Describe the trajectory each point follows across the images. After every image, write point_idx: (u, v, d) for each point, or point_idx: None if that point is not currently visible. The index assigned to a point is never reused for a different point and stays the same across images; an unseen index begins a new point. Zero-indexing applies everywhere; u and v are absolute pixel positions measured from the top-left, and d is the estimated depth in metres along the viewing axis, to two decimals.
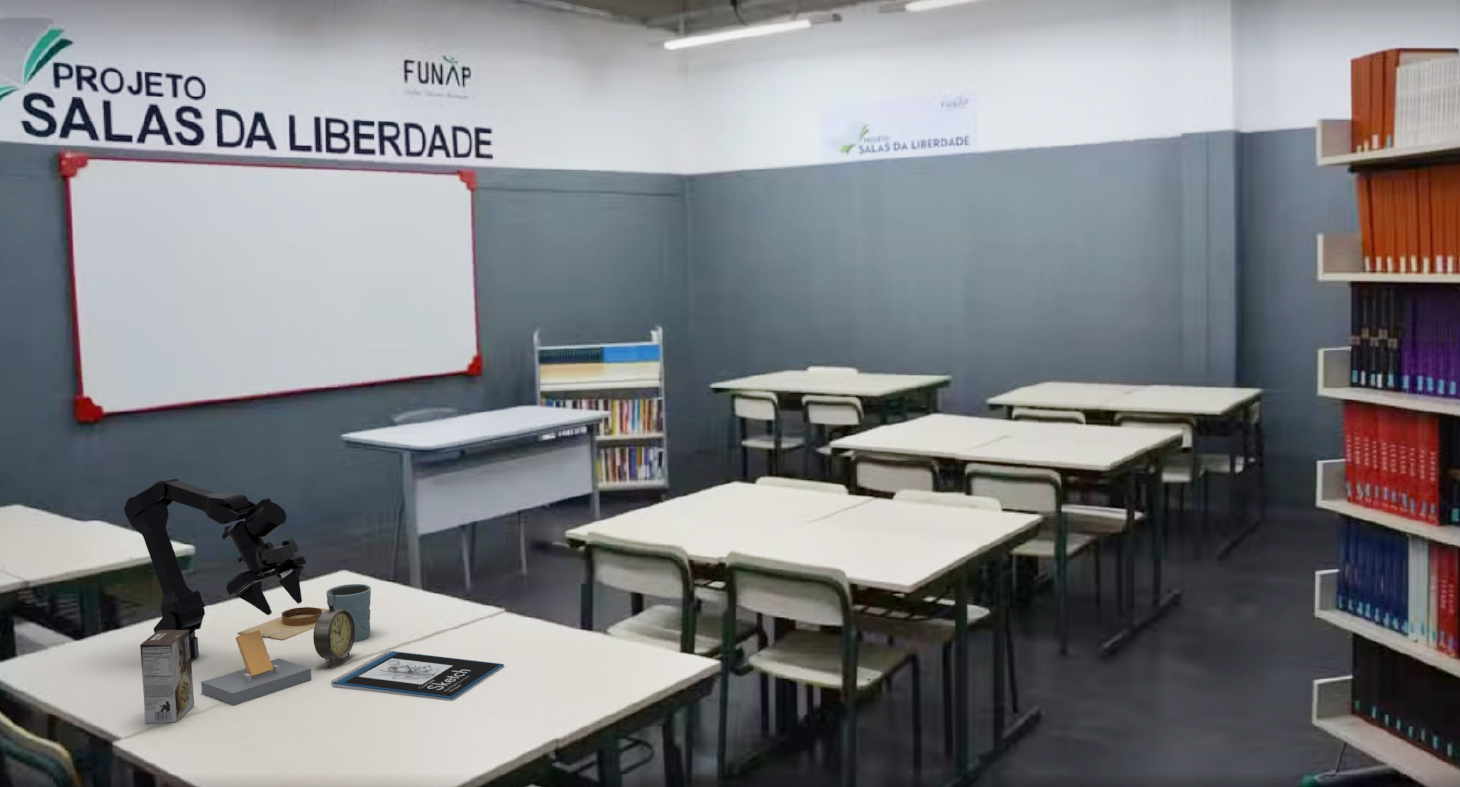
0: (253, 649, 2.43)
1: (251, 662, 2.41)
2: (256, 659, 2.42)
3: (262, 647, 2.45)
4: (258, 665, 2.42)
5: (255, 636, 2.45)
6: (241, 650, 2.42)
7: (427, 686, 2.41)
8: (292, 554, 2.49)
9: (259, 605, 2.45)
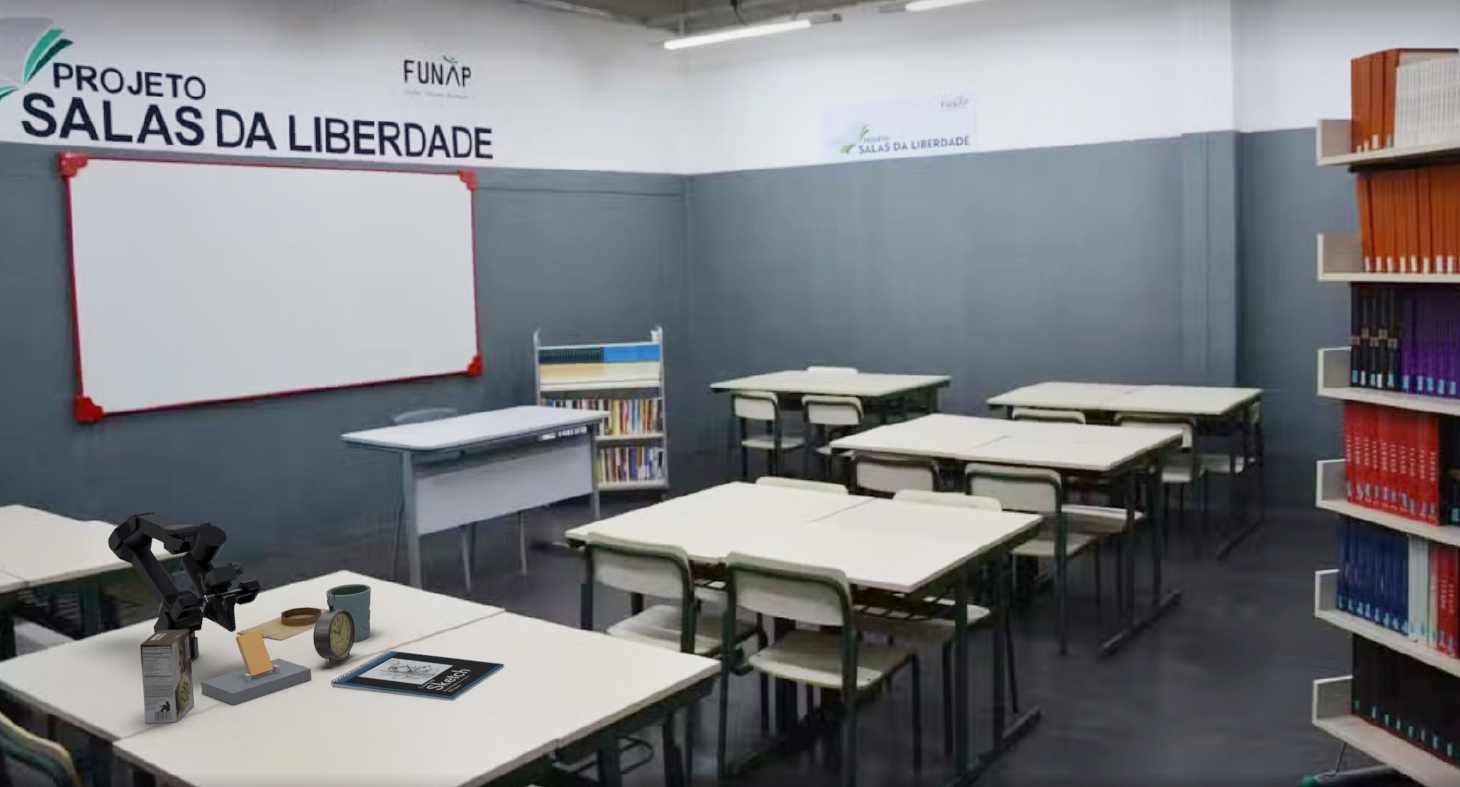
0: (253, 649, 2.43)
1: (251, 662, 2.41)
2: (256, 659, 2.42)
3: (262, 647, 2.45)
4: (258, 665, 2.42)
5: (255, 636, 2.45)
6: (241, 650, 2.42)
7: (427, 686, 2.41)
8: (233, 574, 2.48)
9: (222, 623, 2.48)
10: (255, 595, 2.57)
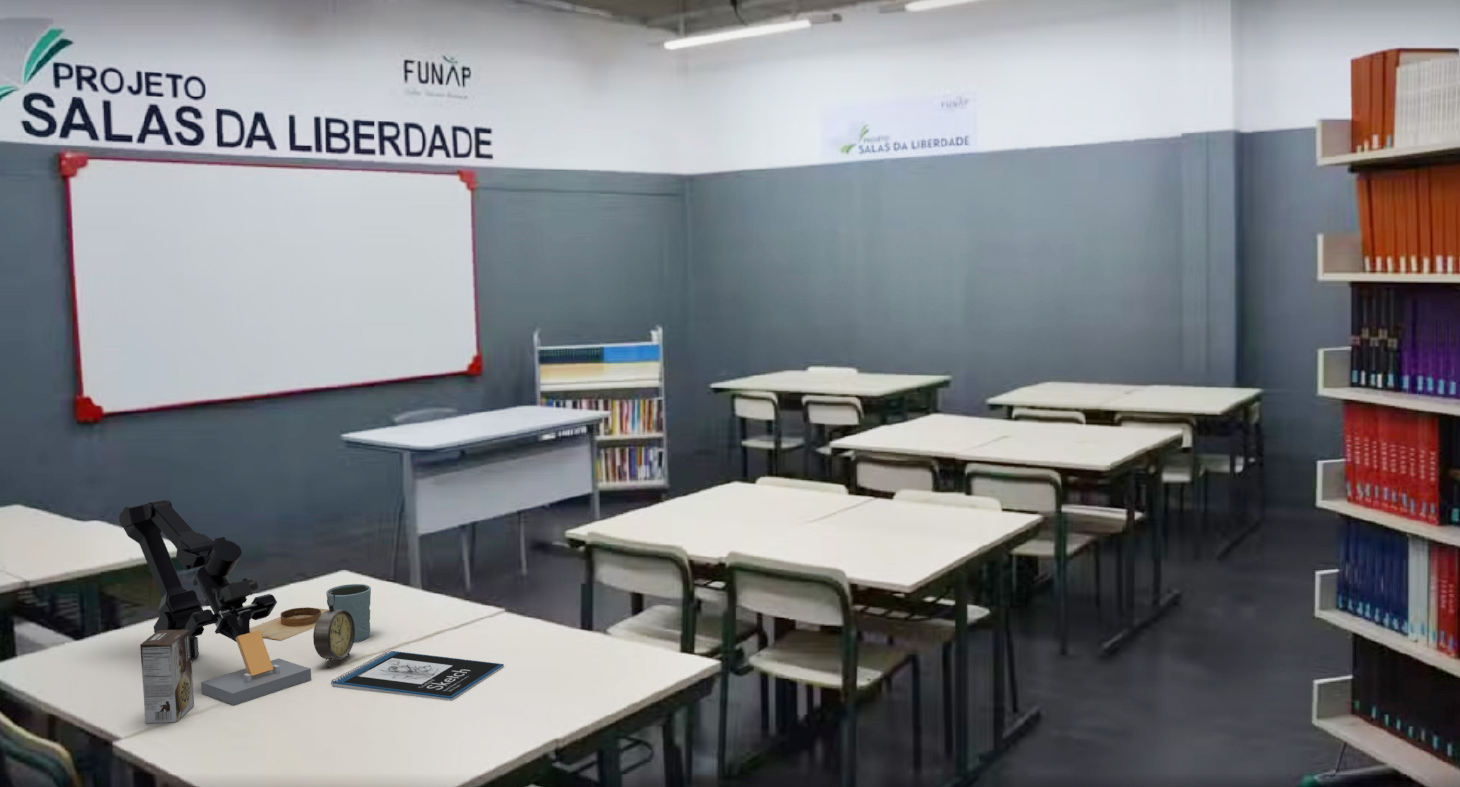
0: (253, 649, 2.43)
1: (251, 662, 2.41)
2: (256, 659, 2.42)
3: (262, 647, 2.45)
4: (258, 665, 2.42)
5: (255, 636, 2.45)
6: (241, 650, 2.42)
7: (427, 686, 2.41)
8: (248, 590, 2.45)
9: None
10: (270, 610, 2.54)
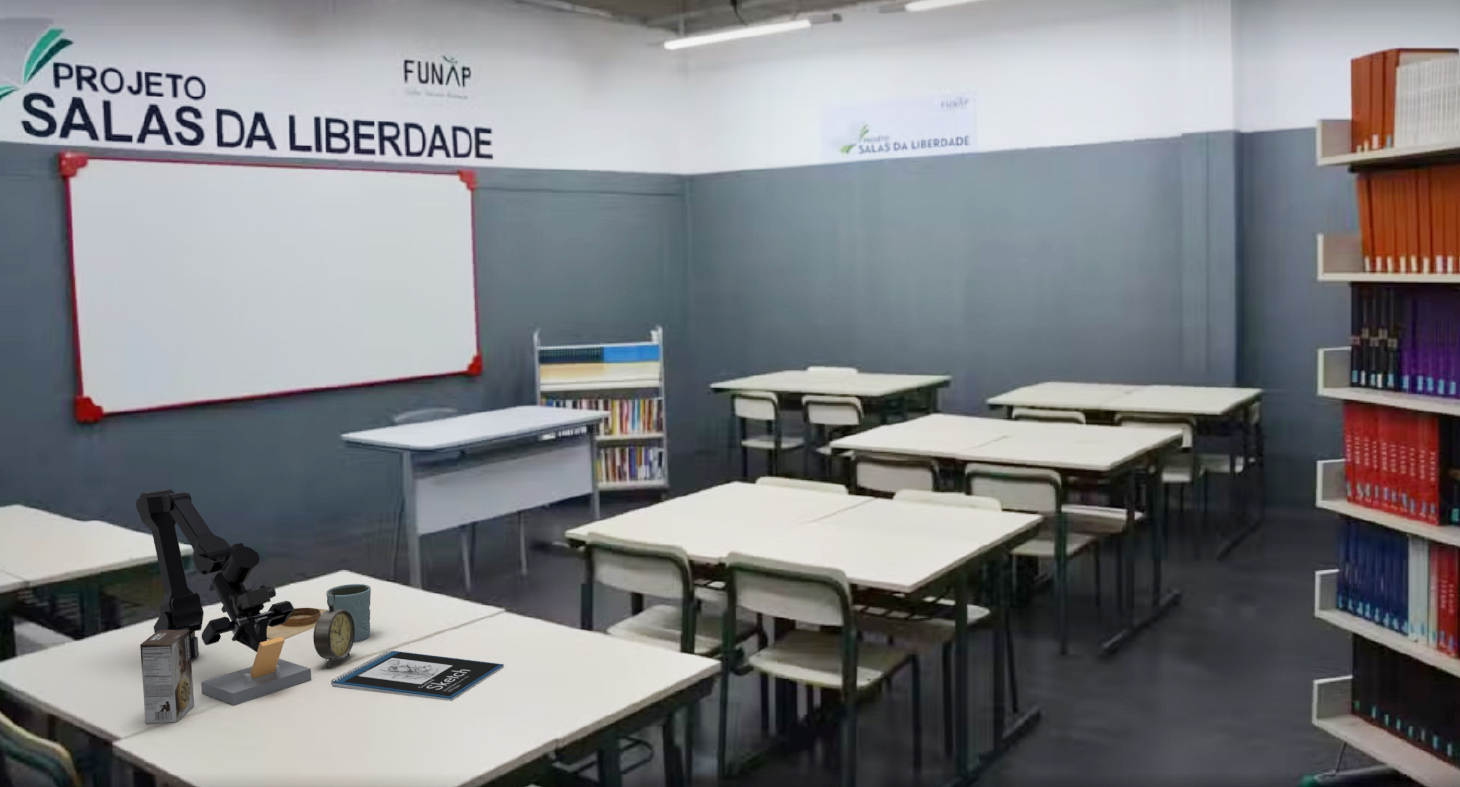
0: (268, 656, 2.40)
1: (260, 667, 2.40)
2: (265, 665, 2.41)
3: (277, 654, 2.42)
4: (263, 670, 2.41)
5: (277, 645, 2.40)
6: (258, 655, 2.38)
7: (427, 686, 2.41)
8: (266, 597, 2.41)
9: (254, 647, 2.41)
10: (287, 617, 2.51)
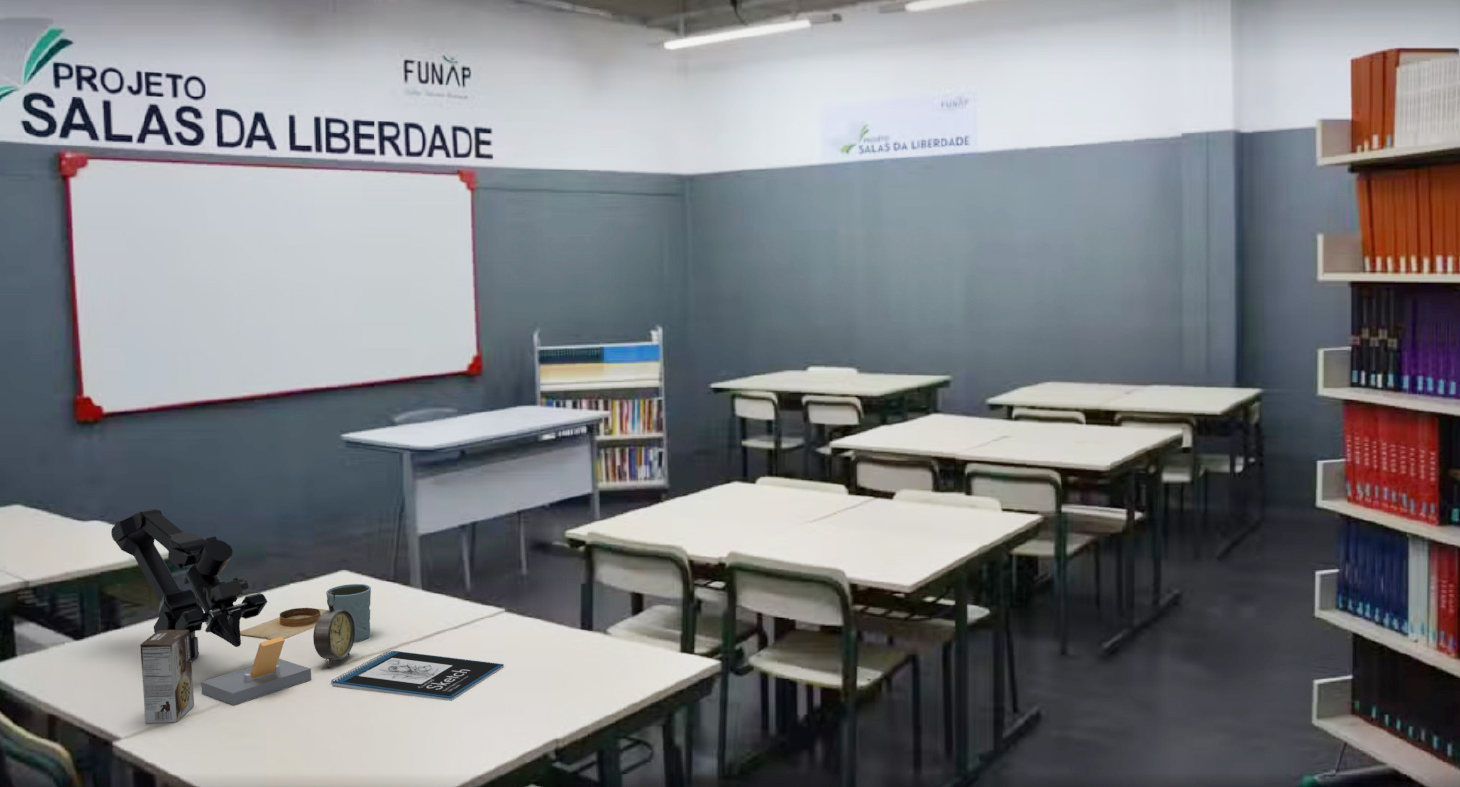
0: (268, 656, 2.40)
1: (260, 667, 2.40)
2: (265, 665, 2.41)
3: (277, 654, 2.42)
4: (263, 670, 2.41)
5: (277, 645, 2.40)
6: (258, 655, 2.38)
7: (427, 686, 2.41)
8: (238, 589, 2.47)
9: (227, 638, 2.47)
10: (260, 609, 2.57)
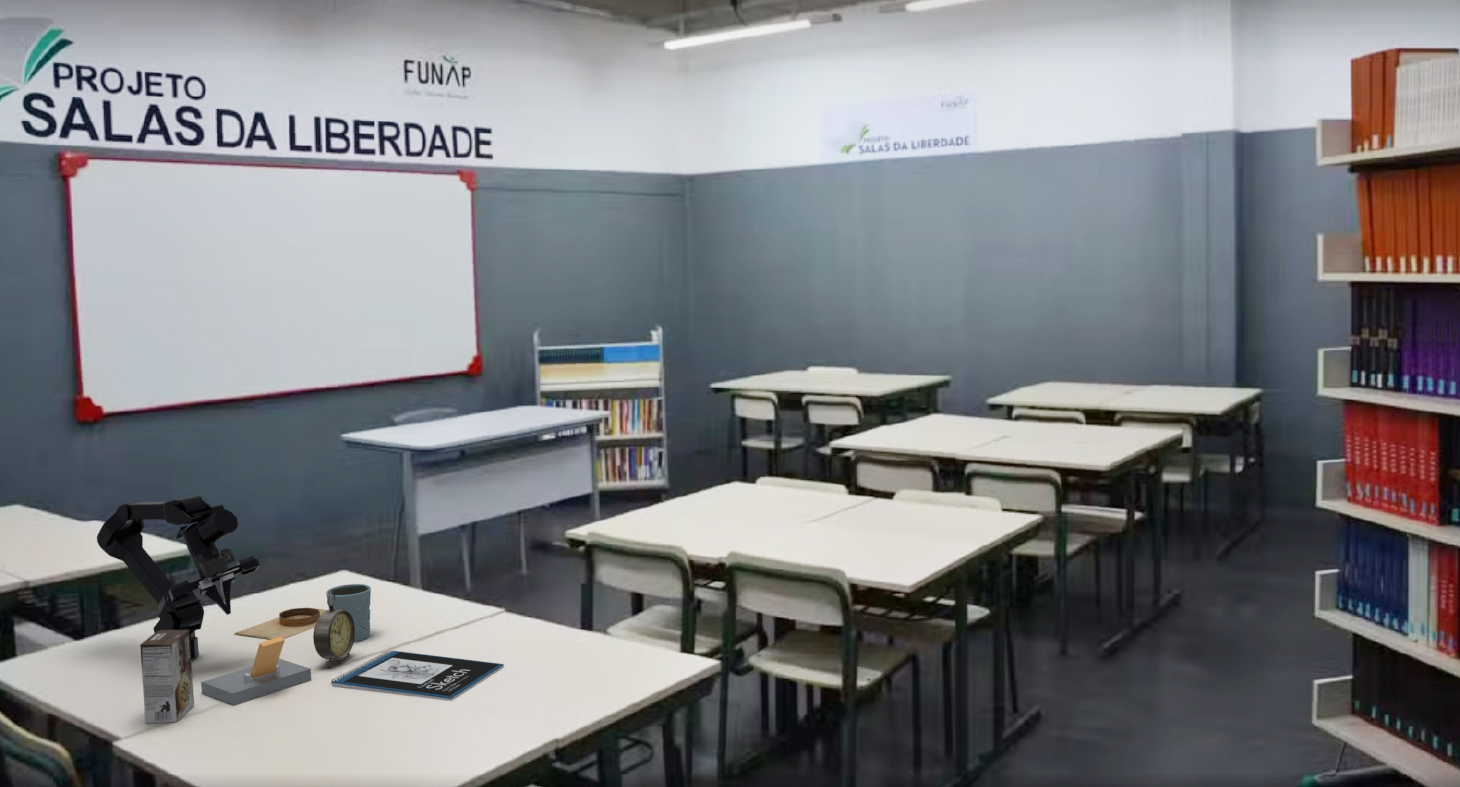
0: (268, 656, 2.40)
1: (260, 667, 2.40)
2: (265, 665, 2.41)
3: (277, 654, 2.42)
4: (263, 670, 2.41)
5: (277, 645, 2.40)
6: (258, 655, 2.38)
7: (427, 686, 2.41)
8: (222, 568, 2.49)
9: (219, 604, 2.54)
10: (256, 568, 2.60)
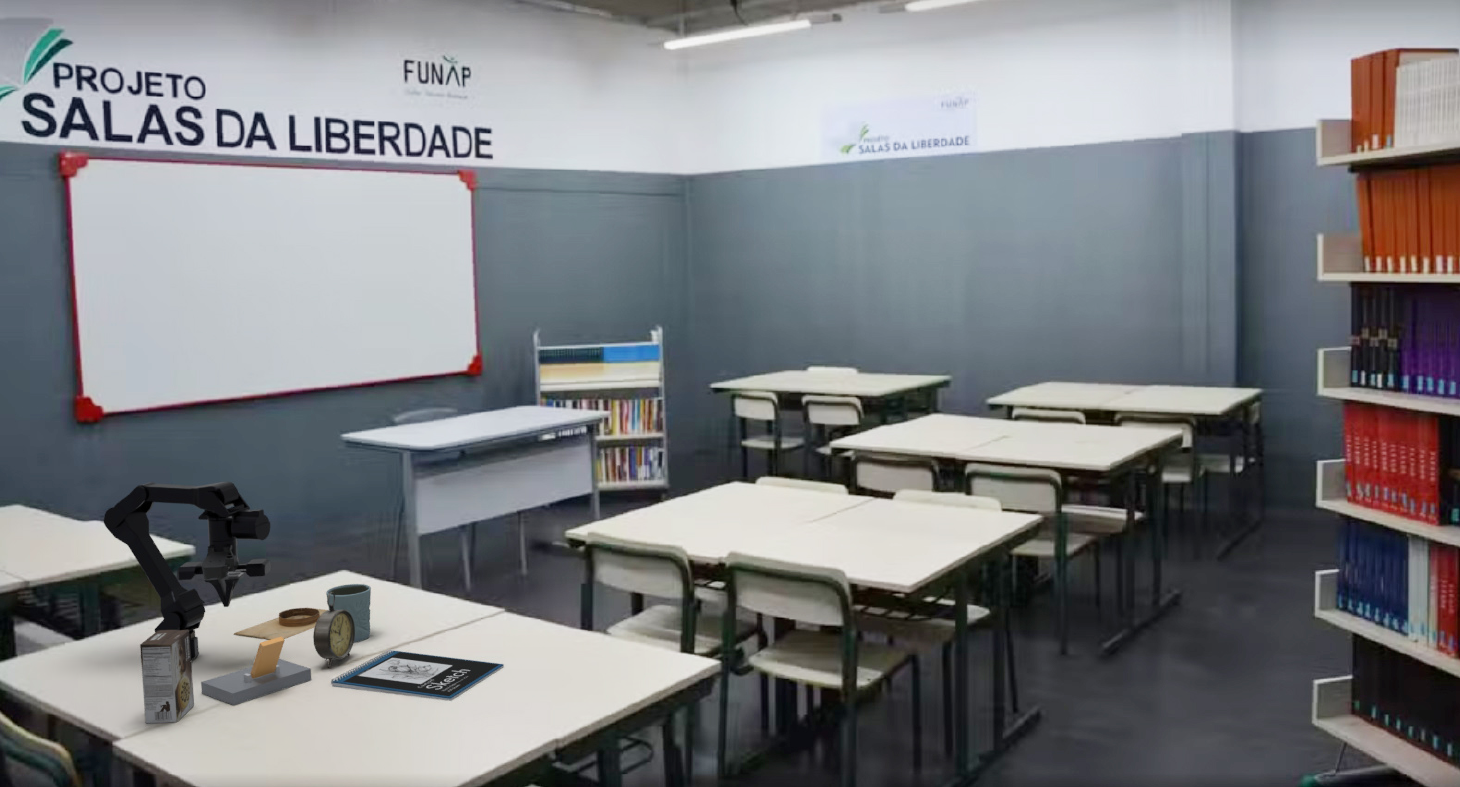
0: (268, 656, 2.40)
1: (260, 667, 2.40)
2: (265, 665, 2.41)
3: (277, 654, 2.42)
4: (263, 670, 2.41)
5: (277, 645, 2.40)
6: (258, 655, 2.38)
7: (426, 686, 2.41)
8: (219, 575, 2.50)
9: None
10: None
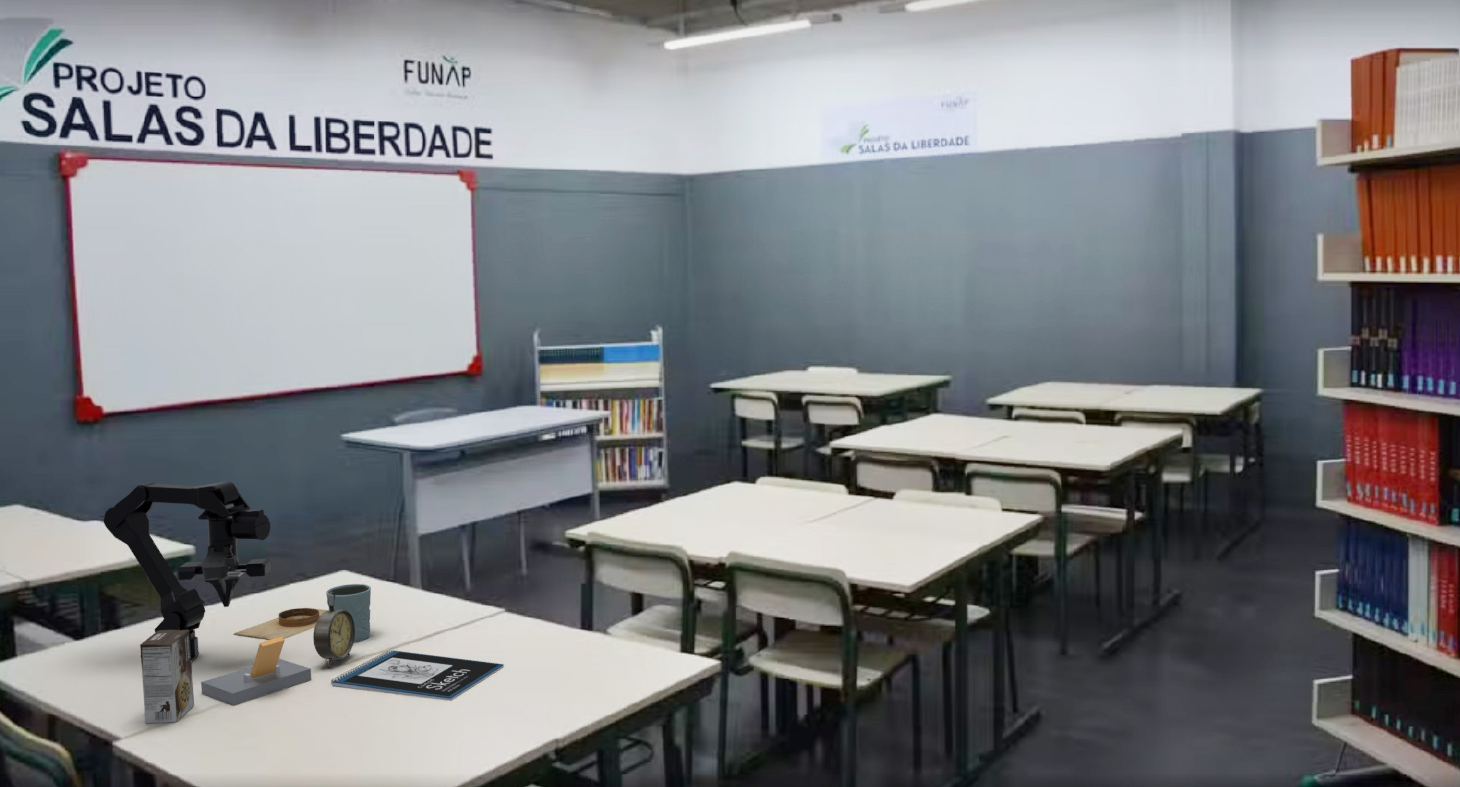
0: (268, 656, 2.40)
1: (260, 667, 2.40)
2: (265, 665, 2.41)
3: (277, 654, 2.42)
4: (263, 670, 2.41)
5: (277, 645, 2.40)
6: (258, 655, 2.38)
7: (426, 686, 2.41)
8: (219, 575, 2.50)
9: None
10: None
